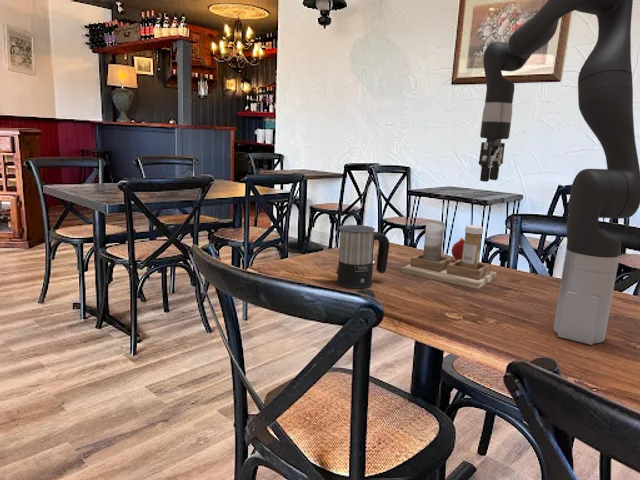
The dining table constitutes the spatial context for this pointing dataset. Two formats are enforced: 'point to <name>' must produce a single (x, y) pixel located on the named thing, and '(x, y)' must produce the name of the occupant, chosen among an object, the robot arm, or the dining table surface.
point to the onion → (458, 249)
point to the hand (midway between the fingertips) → (488, 180)
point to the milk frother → (360, 255)
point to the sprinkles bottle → (471, 246)
